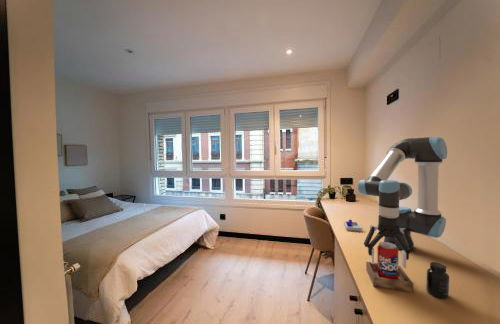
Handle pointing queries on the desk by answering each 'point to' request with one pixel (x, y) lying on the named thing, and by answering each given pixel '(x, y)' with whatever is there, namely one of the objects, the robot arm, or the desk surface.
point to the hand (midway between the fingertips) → (387, 264)
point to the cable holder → (350, 223)
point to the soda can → (387, 260)
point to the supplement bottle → (437, 281)
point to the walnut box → (392, 284)
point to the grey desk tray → (355, 227)
